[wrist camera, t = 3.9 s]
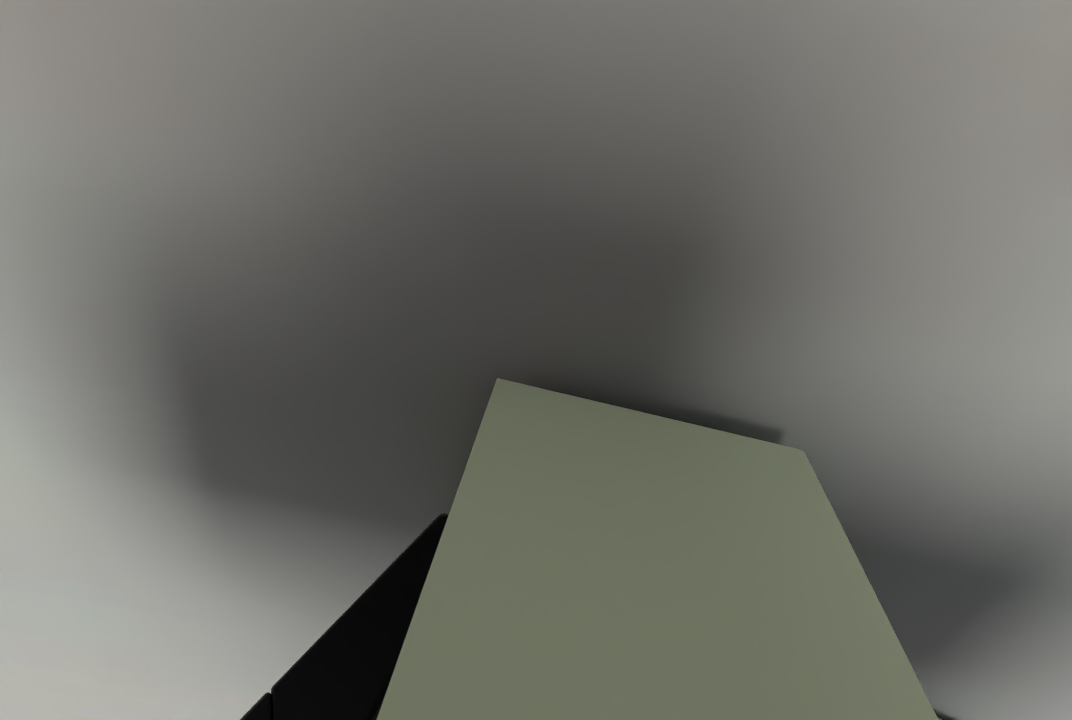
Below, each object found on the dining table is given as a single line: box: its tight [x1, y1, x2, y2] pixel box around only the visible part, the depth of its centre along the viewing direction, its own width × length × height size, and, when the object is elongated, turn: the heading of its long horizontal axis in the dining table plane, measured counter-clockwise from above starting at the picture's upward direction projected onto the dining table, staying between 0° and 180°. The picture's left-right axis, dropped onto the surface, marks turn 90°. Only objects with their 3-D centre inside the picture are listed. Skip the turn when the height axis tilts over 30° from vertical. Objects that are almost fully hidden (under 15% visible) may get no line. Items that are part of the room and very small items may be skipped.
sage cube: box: [377, 378, 938, 720], centre depth 7 cm, size 5×5×5 cm
